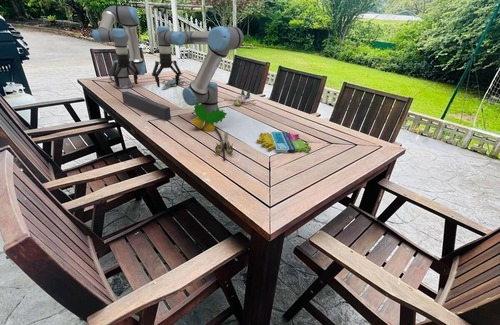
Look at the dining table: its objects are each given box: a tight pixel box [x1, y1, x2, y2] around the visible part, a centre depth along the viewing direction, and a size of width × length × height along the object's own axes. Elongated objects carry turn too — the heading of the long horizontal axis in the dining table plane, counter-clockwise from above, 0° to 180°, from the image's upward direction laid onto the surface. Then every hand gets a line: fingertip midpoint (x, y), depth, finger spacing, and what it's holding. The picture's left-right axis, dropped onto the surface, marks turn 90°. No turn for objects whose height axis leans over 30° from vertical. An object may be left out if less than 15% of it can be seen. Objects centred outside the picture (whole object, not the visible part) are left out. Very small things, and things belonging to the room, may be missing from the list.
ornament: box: [191, 102, 228, 132], centre depth 162 cm, size 21×8×15 cm, turn 105°
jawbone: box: [214, 131, 234, 156], centre depth 136 cm, size 9×15×10 cm
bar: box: [121, 91, 172, 122], centre depth 184 cm, size 52×4×8 cm, turn 51°
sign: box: [256, 131, 312, 154], centre depth 152 cm, size 26×2×30 cm
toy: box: [223, 89, 257, 106], centre depth 219 cm, size 28×7×30 cm
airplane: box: [159, 77, 187, 91], centre depth 251 cm, size 38×31×10 cm
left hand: (127, 85), depth 190 cm, fingers open, 13 cm apart
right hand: (168, 86), depth 181 cm, fingers open, 13 cm apart
